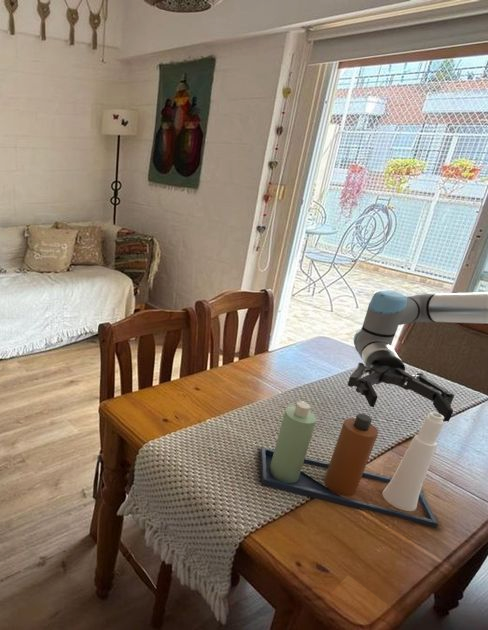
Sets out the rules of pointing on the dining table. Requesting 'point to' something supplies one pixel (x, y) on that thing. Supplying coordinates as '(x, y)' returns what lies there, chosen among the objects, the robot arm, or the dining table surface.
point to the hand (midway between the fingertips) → (410, 408)
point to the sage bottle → (293, 442)
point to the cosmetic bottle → (414, 465)
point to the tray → (319, 491)
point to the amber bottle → (351, 455)
